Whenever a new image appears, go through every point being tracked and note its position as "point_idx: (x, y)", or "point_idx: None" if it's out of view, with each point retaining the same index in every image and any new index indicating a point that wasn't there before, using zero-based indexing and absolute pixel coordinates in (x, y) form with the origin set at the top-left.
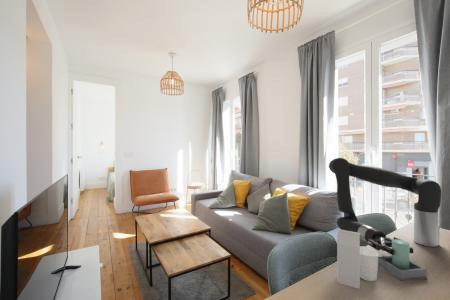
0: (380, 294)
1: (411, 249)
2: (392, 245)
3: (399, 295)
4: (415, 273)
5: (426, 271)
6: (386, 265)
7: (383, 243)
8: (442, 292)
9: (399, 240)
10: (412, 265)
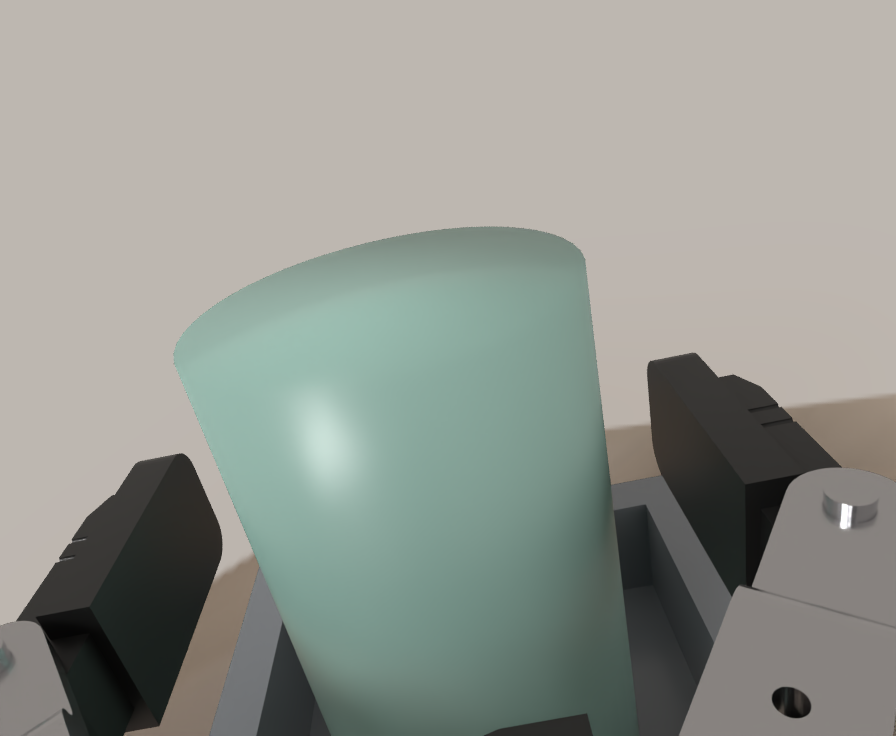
0: None
1: (191, 469)
2: (593, 393)
3: (821, 403)
4: None
5: None
6: None
7: (797, 590)
8: None
9: (269, 362)
10: (278, 727)
